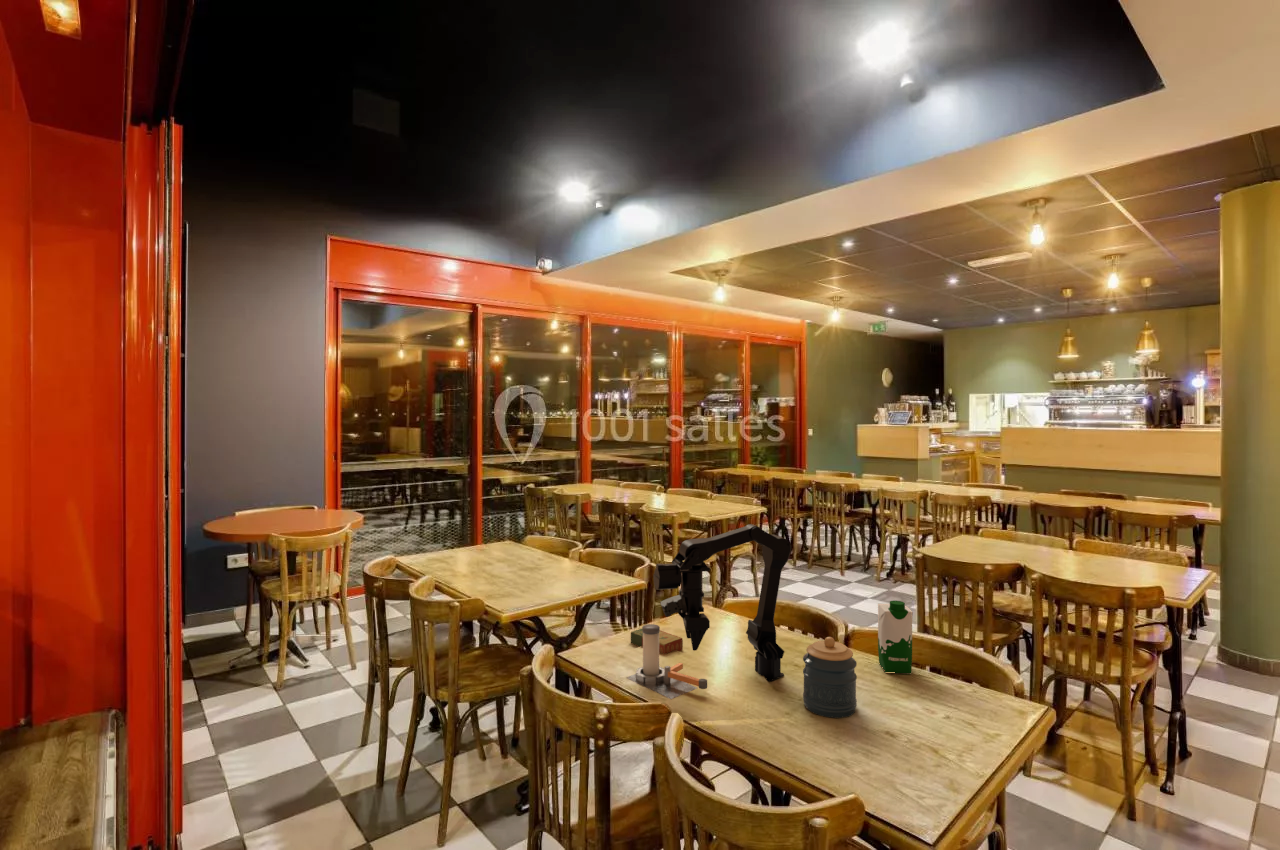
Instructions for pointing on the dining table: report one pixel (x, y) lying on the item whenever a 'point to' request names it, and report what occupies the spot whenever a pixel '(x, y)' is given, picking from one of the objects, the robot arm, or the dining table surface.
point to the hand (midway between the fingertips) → (691, 644)
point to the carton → (660, 641)
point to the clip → (682, 676)
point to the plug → (650, 649)
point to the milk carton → (895, 637)
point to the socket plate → (661, 683)
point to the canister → (829, 679)
